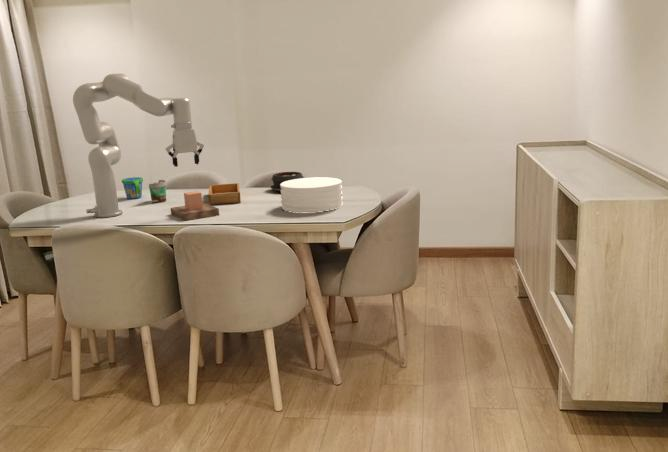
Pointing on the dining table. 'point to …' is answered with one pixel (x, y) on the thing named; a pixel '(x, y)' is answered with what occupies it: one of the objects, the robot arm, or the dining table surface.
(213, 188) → the tray
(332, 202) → the plate stack
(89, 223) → the dining table surface
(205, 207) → the walnut base
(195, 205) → the terracotta block
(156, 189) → the food container
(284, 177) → the casserole
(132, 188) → the snack cup
